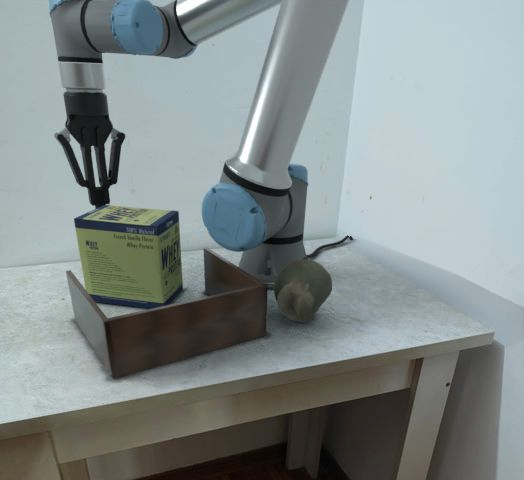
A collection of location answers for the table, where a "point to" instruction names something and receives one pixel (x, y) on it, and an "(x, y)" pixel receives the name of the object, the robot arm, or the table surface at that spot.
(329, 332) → the table surface
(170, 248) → the protein box
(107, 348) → the compartment
